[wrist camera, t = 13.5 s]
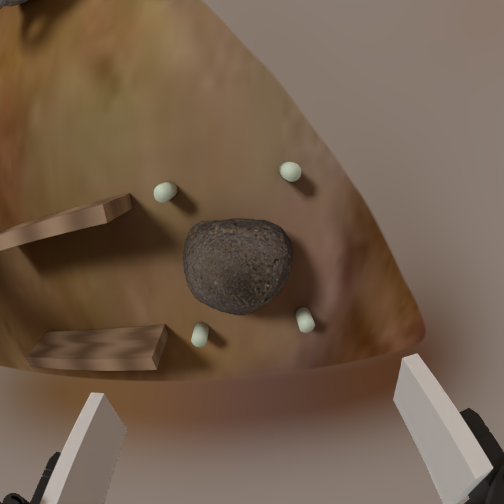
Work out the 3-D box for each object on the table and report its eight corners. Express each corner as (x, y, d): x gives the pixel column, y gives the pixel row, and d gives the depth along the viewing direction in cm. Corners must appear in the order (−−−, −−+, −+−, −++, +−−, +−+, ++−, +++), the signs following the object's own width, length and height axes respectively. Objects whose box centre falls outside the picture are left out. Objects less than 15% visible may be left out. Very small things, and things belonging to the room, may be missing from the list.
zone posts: (196, 334, 31) (193, 347, 29) (159, 183, 26) (152, 186, 24) (310, 318, 31) (315, 331, 29) (295, 160, 26) (300, 161, 24)
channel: (51, 340, 32) (30, 366, 26) (9, 228, 26) (-22, 243, 21) (168, 335, 31) (156, 369, 26) (129, 193, 26) (102, 204, 21)
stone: (201, 278, 33) (256, 343, 28) (150, 258, 26) (210, 342, 21) (259, 213, 33) (325, 270, 28) (221, 175, 25) (302, 242, 20)
